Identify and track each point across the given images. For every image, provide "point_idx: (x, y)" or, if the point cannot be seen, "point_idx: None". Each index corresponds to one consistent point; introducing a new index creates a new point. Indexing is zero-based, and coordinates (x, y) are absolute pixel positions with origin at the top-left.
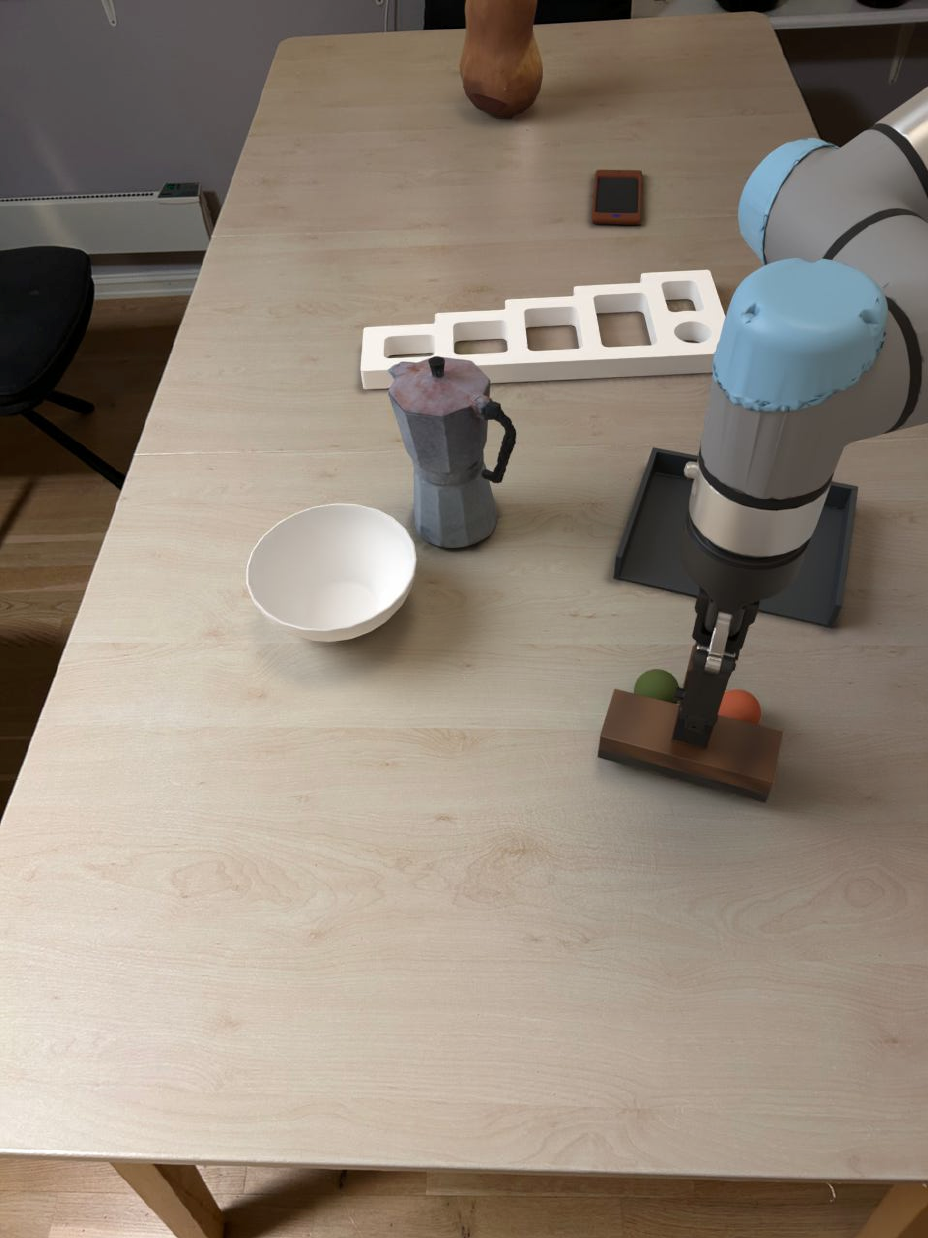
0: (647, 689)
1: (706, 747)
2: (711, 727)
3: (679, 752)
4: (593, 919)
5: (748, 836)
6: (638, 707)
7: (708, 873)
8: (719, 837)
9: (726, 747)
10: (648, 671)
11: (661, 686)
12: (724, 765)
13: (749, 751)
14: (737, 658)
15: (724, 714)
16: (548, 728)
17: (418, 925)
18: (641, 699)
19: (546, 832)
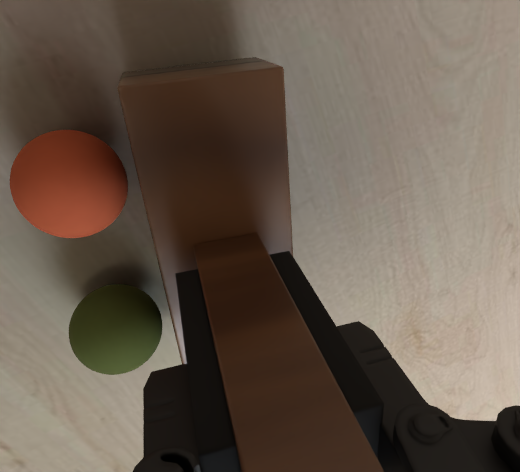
0: (143, 358)
1: (289, 251)
2: (321, 305)
3: None
4: (484, 230)
5: (309, 65)
6: None
7: (393, 111)
8: (327, 115)
9: (234, 199)
10: (99, 372)
11: (128, 347)
12: (281, 188)
13: (221, 149)
14: (193, 469)
15: (113, 215)
16: None
17: (509, 367)
18: None
19: (387, 324)
